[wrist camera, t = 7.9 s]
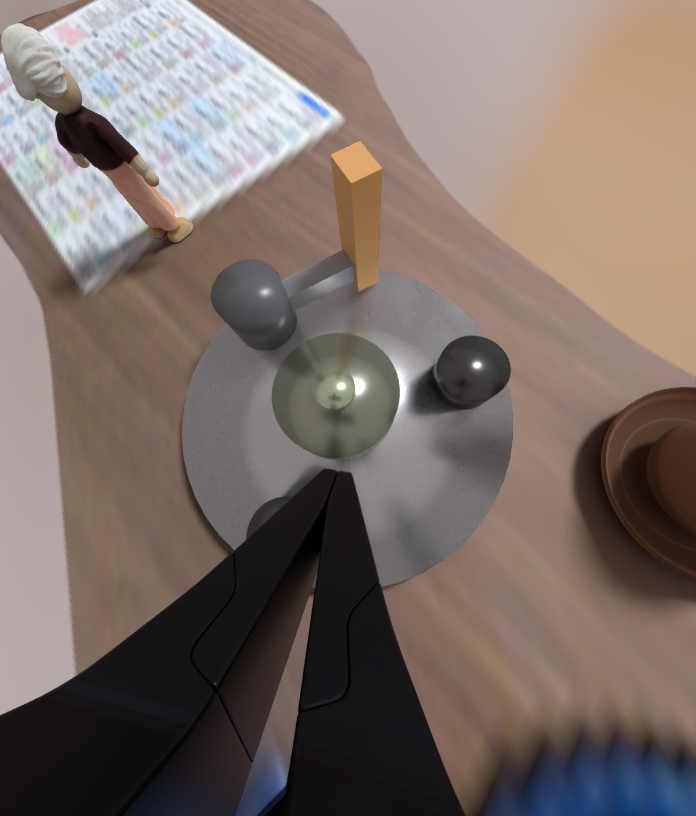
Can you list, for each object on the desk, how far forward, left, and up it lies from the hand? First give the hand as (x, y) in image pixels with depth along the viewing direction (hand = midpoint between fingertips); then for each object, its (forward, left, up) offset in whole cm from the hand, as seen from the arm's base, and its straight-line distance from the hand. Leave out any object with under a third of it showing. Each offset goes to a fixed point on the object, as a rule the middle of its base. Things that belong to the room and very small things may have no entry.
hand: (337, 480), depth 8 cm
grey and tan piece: (+6, +13, -11) cm, 18 cm away
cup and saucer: (+16, -14, -13) cm, 25 cm away
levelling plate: (+3, +5, -12) cm, 13 cm away
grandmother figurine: (+2, +31, -12) cm, 33 cm away
